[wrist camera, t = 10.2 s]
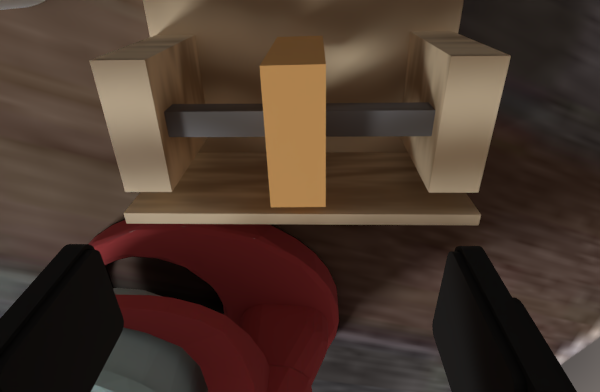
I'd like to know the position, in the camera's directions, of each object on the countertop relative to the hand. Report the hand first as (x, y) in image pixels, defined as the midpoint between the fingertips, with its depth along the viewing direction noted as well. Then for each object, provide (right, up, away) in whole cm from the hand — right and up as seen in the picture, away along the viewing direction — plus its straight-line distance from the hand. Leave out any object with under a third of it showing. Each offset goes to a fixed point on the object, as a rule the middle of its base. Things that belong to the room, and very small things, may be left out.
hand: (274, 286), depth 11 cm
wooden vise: (+1, +12, +22) cm, 25 cm away
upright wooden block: (+1, +10, +19) cm, 21 cm away
